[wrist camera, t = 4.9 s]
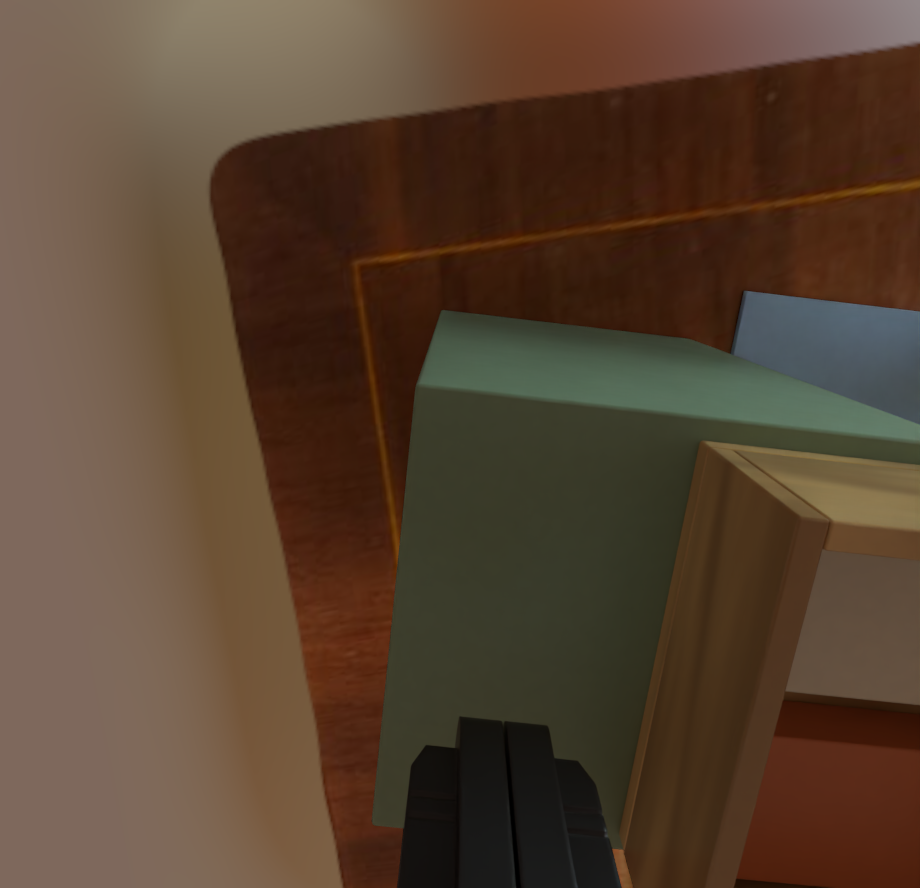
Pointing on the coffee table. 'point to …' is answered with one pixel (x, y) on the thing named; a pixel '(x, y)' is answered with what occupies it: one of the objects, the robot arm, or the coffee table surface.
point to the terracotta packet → (838, 800)
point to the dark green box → (566, 527)
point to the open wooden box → (744, 644)
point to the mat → (836, 348)
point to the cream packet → (861, 630)
